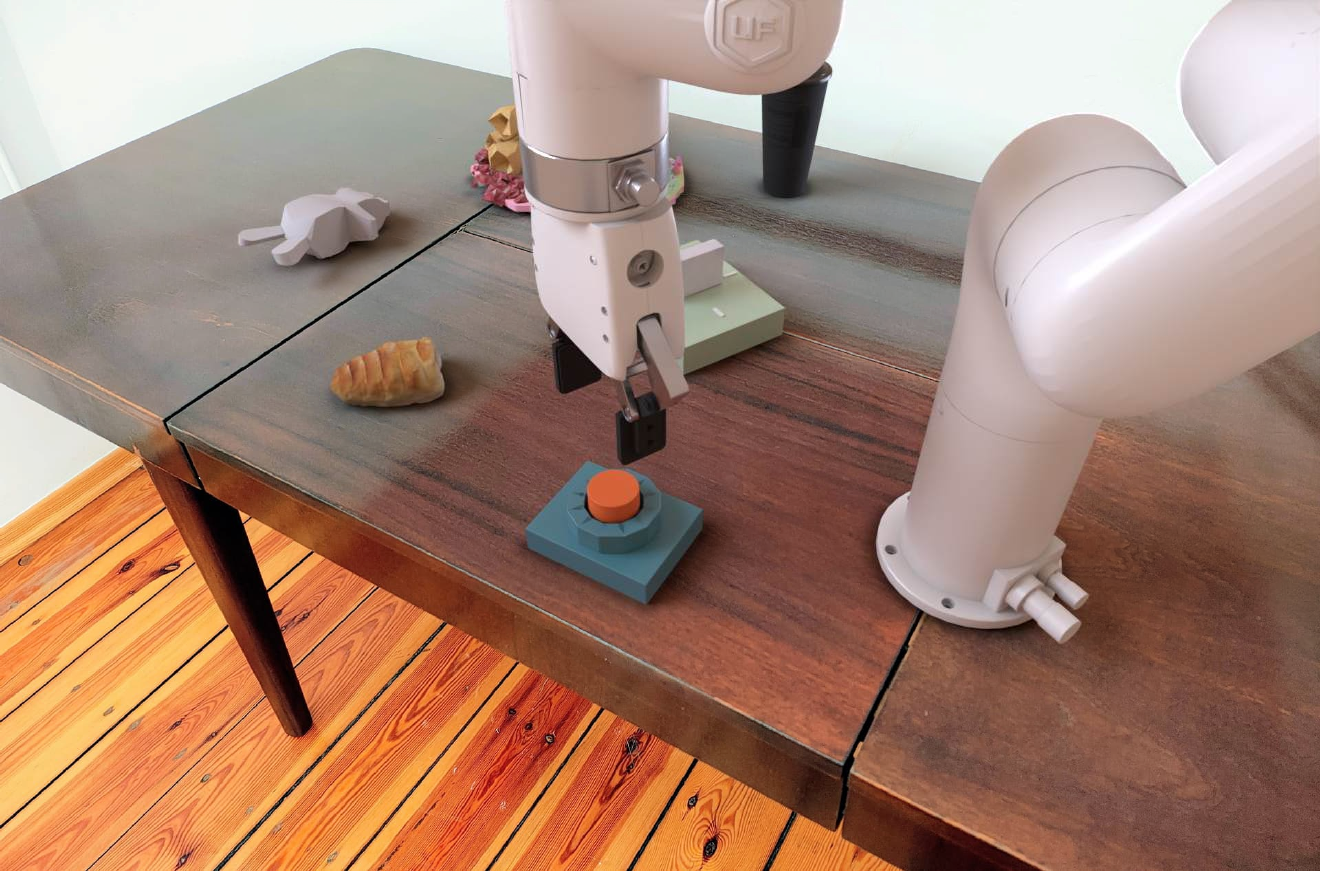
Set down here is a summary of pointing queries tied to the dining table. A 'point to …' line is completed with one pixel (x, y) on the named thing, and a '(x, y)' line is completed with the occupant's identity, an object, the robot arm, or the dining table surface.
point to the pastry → (391, 375)
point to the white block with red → (702, 266)
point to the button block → (616, 535)
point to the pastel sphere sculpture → (505, 166)
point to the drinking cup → (792, 133)
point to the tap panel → (727, 319)
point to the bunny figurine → (322, 225)
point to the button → (613, 496)
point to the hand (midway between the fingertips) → (609, 417)
